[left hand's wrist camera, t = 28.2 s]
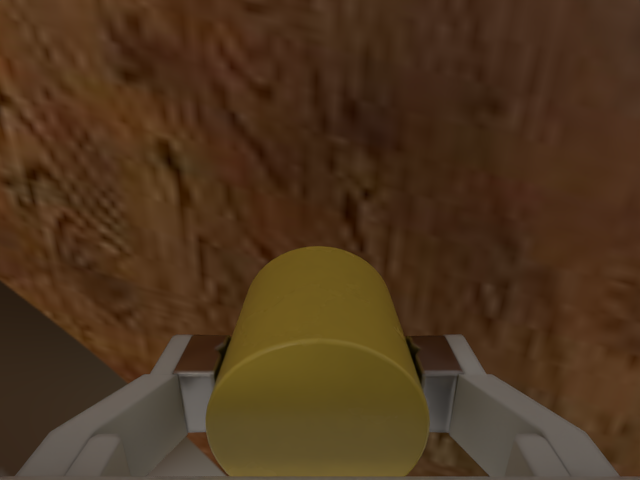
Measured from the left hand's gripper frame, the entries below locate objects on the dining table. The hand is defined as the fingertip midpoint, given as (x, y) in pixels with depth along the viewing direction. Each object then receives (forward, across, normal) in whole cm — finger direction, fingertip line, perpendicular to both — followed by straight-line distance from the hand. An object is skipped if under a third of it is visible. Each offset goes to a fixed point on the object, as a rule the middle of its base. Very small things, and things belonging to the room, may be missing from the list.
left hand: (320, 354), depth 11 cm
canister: (+2, 0, 0) cm, 2 cm away
